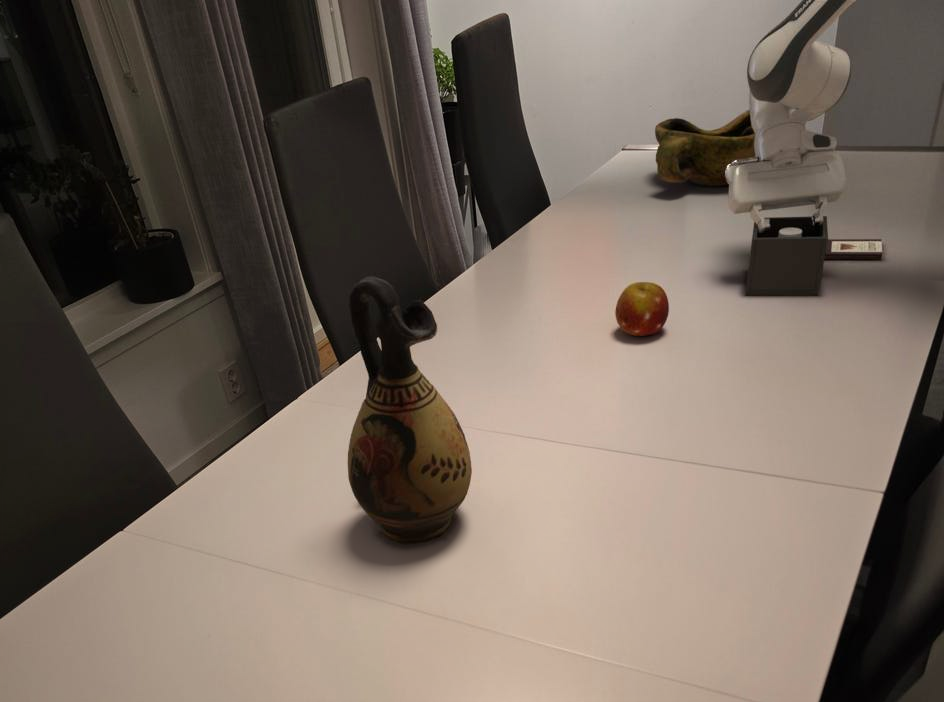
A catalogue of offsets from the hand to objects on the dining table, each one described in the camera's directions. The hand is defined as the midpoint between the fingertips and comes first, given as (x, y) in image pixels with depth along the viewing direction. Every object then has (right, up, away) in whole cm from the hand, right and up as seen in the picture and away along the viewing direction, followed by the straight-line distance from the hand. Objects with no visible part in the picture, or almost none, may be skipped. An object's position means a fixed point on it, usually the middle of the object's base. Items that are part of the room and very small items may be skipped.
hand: (791, 227), depth 150 cm
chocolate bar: (+14, +3, +16) cm, 22 cm away
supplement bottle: (+1, -7, +7) cm, 9 cm away
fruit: (-28, -20, -3) cm, 34 cm away
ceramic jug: (-65, -59, -41) cm, 97 cm away
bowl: (+4, +44, +64) cm, 78 cm away
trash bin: (+1, -7, +7) cm, 10 cm away
